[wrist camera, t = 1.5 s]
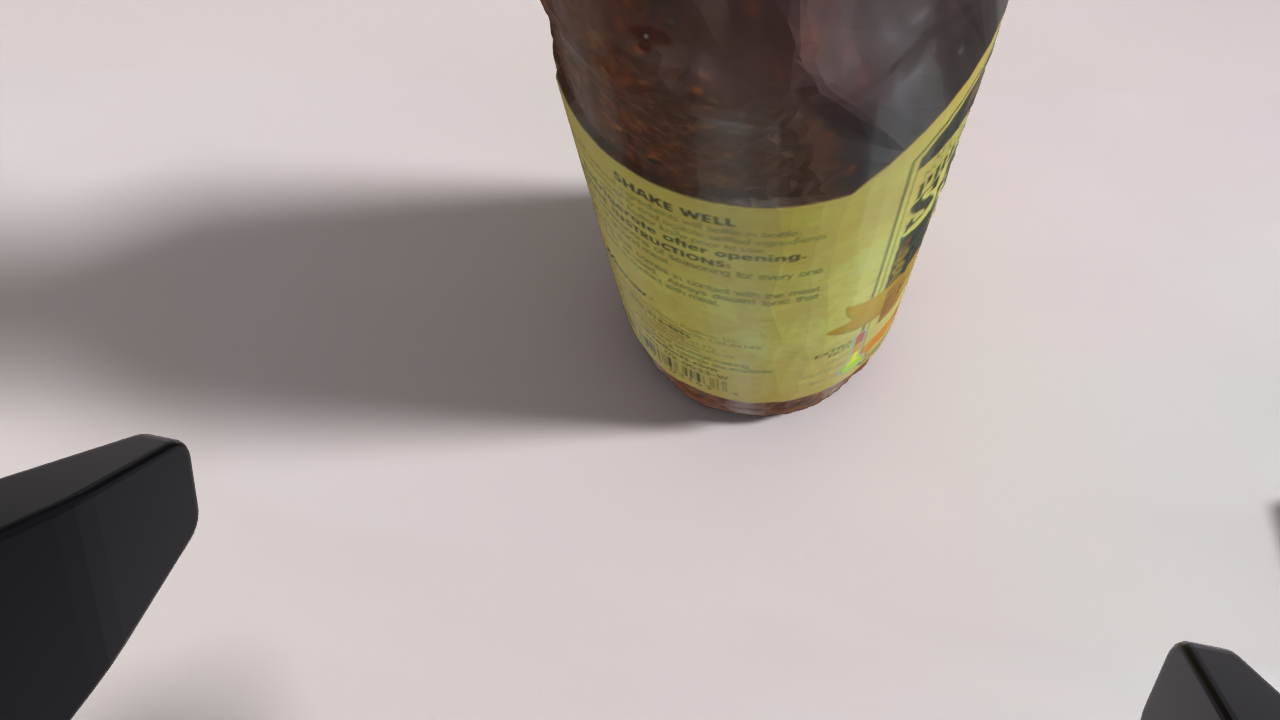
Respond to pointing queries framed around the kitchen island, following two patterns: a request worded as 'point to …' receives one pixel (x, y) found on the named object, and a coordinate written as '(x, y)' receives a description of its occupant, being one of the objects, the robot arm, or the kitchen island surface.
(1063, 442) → the kitchen island surface
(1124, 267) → the kitchen island surface
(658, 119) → the sauce bottle
